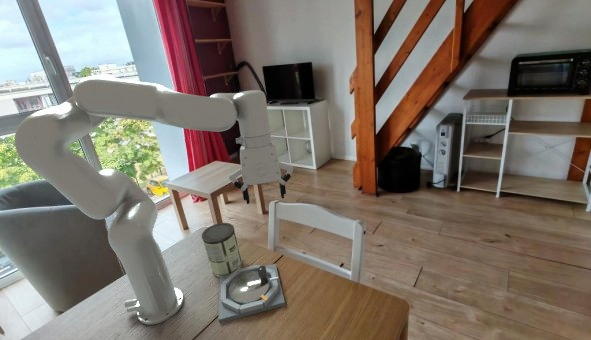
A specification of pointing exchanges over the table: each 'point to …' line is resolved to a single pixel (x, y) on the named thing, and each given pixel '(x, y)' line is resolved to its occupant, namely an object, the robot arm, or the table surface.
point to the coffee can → (222, 249)
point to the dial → (249, 286)
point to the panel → (269, 301)
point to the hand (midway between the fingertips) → (265, 199)
